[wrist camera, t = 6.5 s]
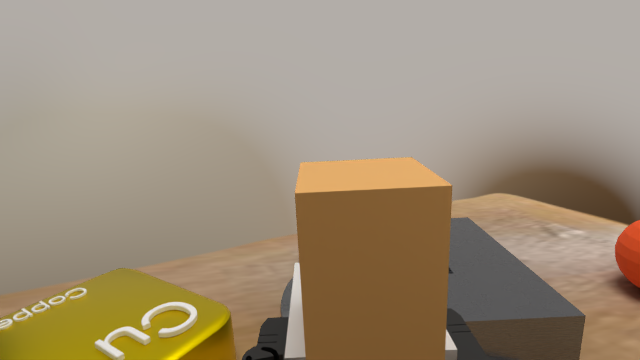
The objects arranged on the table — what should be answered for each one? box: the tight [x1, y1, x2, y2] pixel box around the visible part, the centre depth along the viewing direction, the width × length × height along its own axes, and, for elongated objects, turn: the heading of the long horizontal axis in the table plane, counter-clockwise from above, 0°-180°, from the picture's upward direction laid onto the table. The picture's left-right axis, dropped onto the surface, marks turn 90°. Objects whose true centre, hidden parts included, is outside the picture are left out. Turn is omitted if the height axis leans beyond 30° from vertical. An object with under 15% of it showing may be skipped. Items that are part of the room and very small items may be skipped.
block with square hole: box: [281, 218, 585, 360], centre depth 32 cm, size 22×22×4 cm
